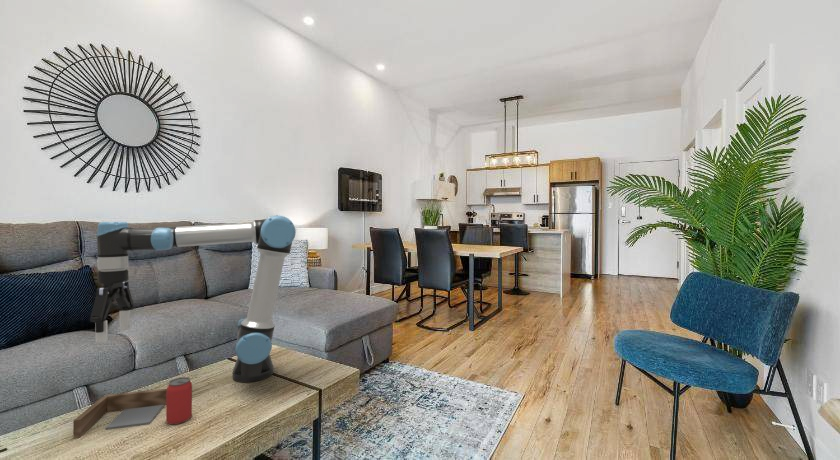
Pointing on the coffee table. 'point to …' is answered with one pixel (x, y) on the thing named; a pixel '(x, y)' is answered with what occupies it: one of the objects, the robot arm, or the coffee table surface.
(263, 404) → the coffee table surface
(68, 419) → the coffee table surface
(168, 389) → the beer can
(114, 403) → the wooden corner frame
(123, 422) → the coaster
